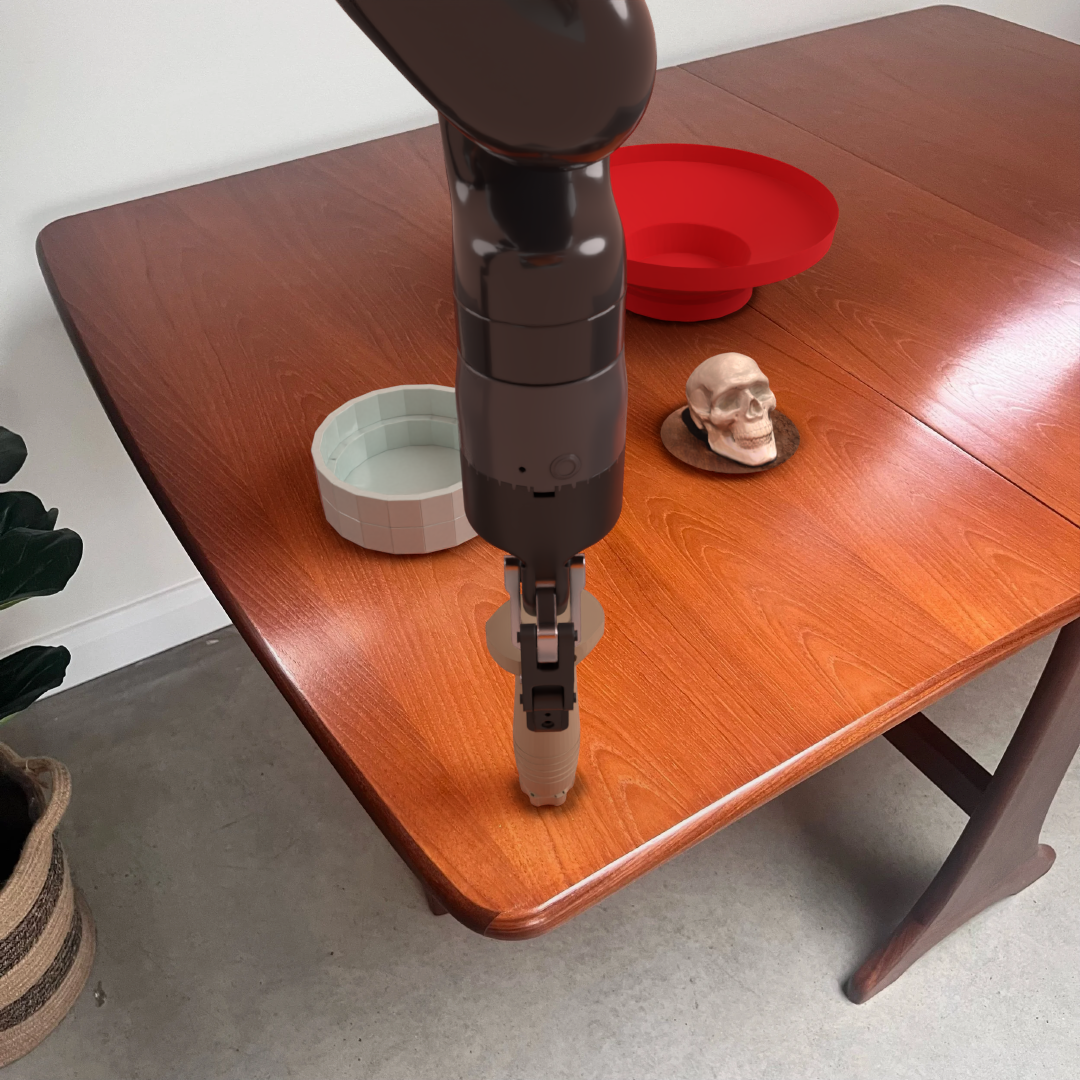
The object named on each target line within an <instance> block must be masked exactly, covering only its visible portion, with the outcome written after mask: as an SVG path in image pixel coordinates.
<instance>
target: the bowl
mask: <svg viewBox="0 0 1080 1080" xmlns="http://www.w3.org/2000/svg"><path fill="white" fill-rule="evenodd" d="M610 178H611V186H612V191H613V195H614V199H615V202H616V205H617V209H618V212H619V215H620V218H621V221H622V224H623V228H624V233H625V239H626V248H627V299H626V310H627V311H630V312H632V313H634V314H637V315H641V316H643V317H647V318H651V319H656V320H660V321H667V322H668V321H670V322H684V323H686V322H687V323H689V322H690V323H691V322H700V321H708V320H713V319H720V318H722V317H725V316H727V315H730V314H733V313H734V312H737V311H739V310H740V309H742V308H743V307H744V306H745V305H746V304H747V303H748V302H749V300H750V299H751V298H752V294H753V289H754V288H757V287H762V286H767V285H770V284H774V283H778V282H781V281H785V280H787V279H790V278H793V277H795V276H798V275H799V274H801V273H803V272H805V271H807V270H809V269H810V268H812V267H814V266H815V265H817V263H819V262H820V261H821V260H822V259H823V258H824V257H825V255H826V254H827V253H828V252H829V250H830V248H831V246H832V244H833V240H834V237H835V233H836V229H837V225H838V222H839V217H840V209H839V204H838V201H837V200H836V198H835V196H834V194H833V192H832V191H831V190H830V189H829V187H827V186H826V185H825V184H824V183H822V182H821V181H820V180H819V179H817V178H816V177H815V176H813V175H811V174H810V173H808V172H806V171H804V170H803V169H801V168H798V167H796V166H794V165H792V164H789V163H787V162H785V161H782V160H779V159H776V158H773V157H771V156H767V155H764V154H760V153H756V152H752V151H747V150H744V149H739V148H733V147H726V146H719V145H713V144H712V145H711V144H699V143H681V142H680V143H678V142H667V143H666V142H665V143H664V142H662V143H644V144H643V143H642V144H633V145H626V146H620V147H619V148H618V149H617V150H616V151H614V152H613V153H612V154H610Z"/></svg>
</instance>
